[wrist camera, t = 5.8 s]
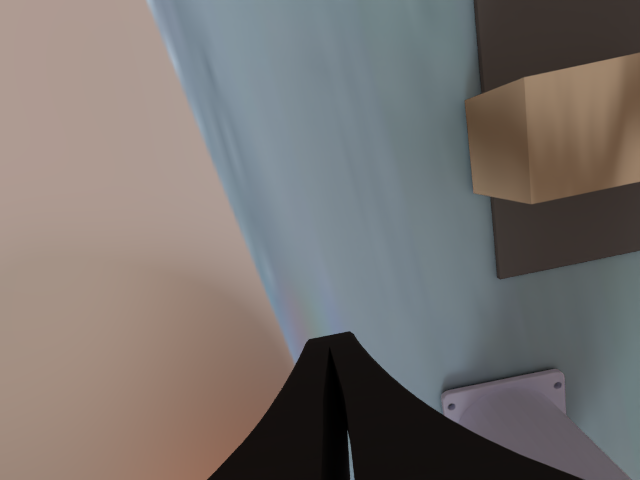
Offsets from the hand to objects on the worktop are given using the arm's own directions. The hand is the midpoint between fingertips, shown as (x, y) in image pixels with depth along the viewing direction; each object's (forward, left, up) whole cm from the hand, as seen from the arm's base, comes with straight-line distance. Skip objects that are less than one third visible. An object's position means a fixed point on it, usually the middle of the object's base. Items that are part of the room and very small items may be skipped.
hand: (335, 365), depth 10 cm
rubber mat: (+5, -16, -10) cm, 20 cm away
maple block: (+5, -9, -8) cm, 13 cm away
